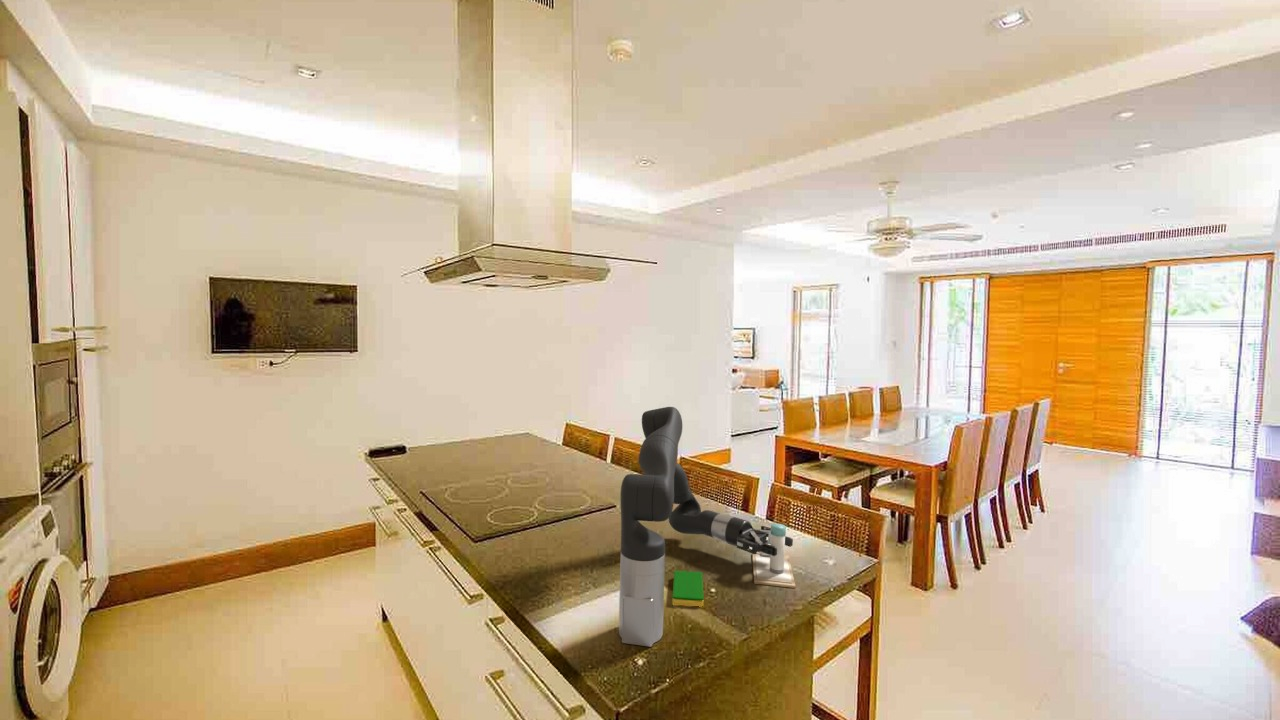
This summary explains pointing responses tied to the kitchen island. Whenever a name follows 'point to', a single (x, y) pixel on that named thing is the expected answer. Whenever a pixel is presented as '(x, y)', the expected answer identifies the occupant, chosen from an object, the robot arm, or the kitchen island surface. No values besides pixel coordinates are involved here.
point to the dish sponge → (688, 588)
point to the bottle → (778, 548)
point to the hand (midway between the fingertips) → (784, 547)
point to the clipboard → (768, 578)
